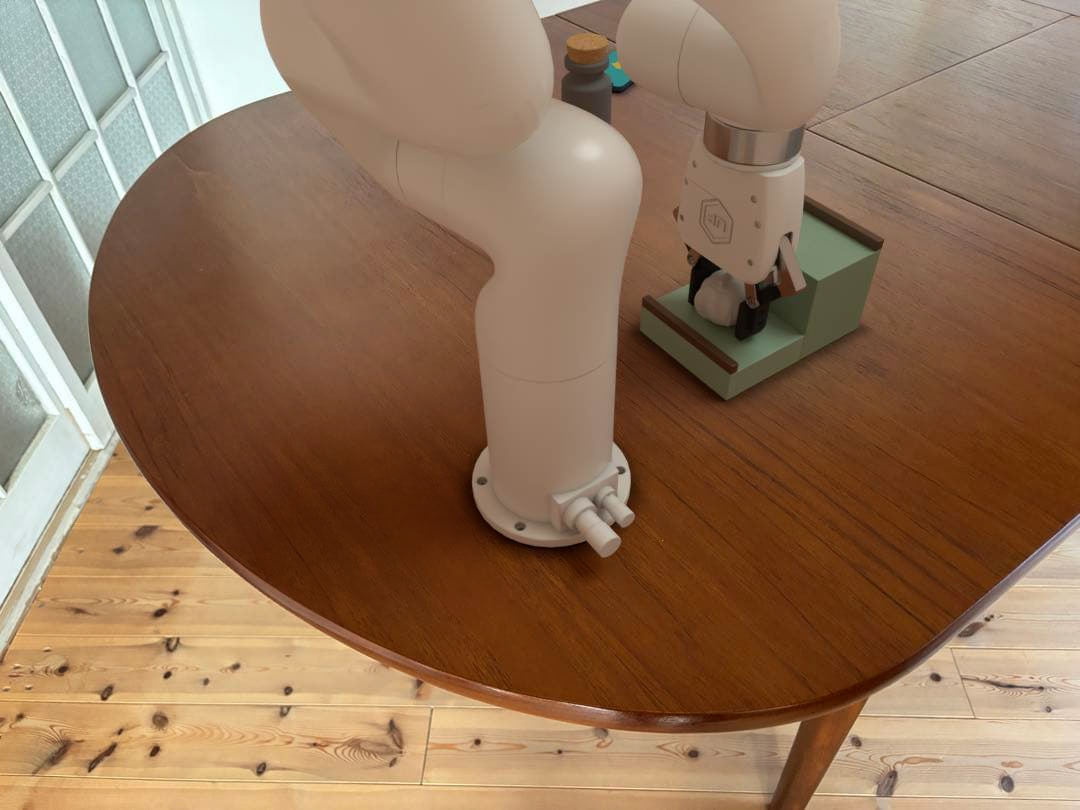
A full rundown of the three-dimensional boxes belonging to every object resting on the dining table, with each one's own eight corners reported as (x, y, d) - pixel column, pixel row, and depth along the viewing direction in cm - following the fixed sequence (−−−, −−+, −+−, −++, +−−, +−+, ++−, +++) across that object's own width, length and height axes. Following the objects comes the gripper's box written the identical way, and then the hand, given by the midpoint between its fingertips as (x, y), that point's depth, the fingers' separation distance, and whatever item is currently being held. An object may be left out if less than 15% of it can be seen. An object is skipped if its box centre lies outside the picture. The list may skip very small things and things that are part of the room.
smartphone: (670, 49, 128) (621, 86, 119) (669, 54, 128) (621, 92, 119) (626, 40, 131) (576, 76, 122) (626, 46, 131) (576, 82, 122)
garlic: (711, 344, 76) (718, 297, 72) (682, 309, 80) (687, 263, 76) (769, 326, 78) (779, 279, 74) (738, 293, 81) (745, 246, 78)
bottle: (553, 169, 105) (551, 46, 94) (574, 148, 109) (575, 27, 98) (597, 180, 103) (599, 55, 92) (617, 158, 106) (621, 35, 96)
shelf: (858, 328, 82) (884, 239, 75) (726, 400, 75) (741, 310, 68) (767, 268, 89) (783, 182, 82) (639, 330, 82) (645, 242, 75)
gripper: (644, 104, 70) (634, 285, 82) (802, 193, 59) (763, 384, 72) (713, 79, 72) (693, 258, 85) (875, 160, 62) (825, 349, 75)
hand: (725, 314), depth 78 cm, fingers closed on garlic, 5 cm apart
